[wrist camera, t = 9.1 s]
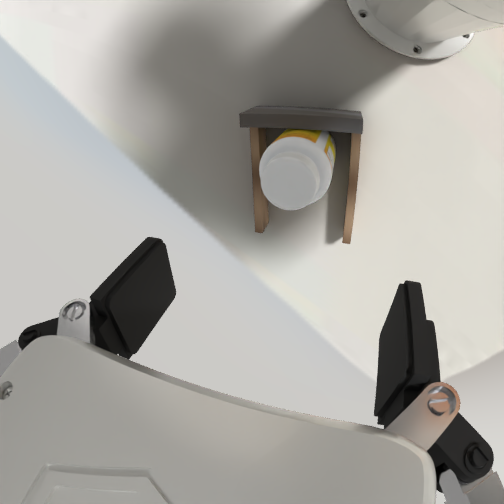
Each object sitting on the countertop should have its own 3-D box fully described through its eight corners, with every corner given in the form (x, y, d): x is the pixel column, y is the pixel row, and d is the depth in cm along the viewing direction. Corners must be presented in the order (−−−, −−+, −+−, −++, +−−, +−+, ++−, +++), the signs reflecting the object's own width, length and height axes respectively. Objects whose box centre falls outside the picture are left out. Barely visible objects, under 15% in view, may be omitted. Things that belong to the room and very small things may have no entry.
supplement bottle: (269, 144, 29) (233, 179, 21) (309, 108, 26) (289, 128, 18) (306, 184, 31) (286, 234, 23) (348, 152, 27) (346, 192, 19)
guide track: (350, 231, 32) (349, 257, 28) (261, 221, 35) (248, 244, 31) (360, 111, 25) (363, 119, 21) (256, 106, 27) (239, 113, 23)
